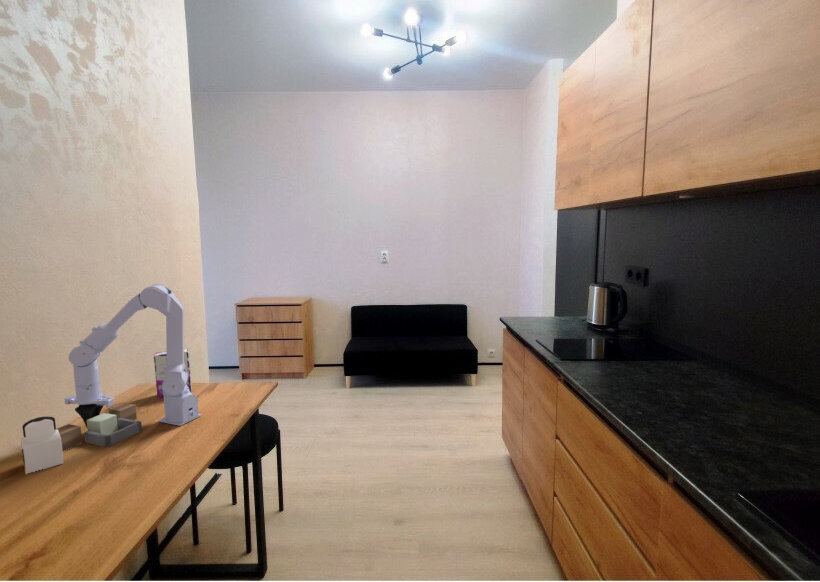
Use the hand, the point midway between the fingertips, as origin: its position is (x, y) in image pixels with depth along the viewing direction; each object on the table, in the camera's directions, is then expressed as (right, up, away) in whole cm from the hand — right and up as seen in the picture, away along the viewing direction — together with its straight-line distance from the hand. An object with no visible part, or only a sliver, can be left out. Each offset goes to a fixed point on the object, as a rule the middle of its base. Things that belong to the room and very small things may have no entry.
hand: (92, 427), depth 117 cm
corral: (+9, -2, -3) cm, 9 cm away
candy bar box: (+7, +2, +30) cm, 31 cm away
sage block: (+4, -2, -1) cm, 5 cm away
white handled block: (+2, -4, -17) cm, 18 cm away
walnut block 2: (+4, -1, +7) cm, 8 cm away
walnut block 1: (-1, -3, -8) cm, 8 cm away
